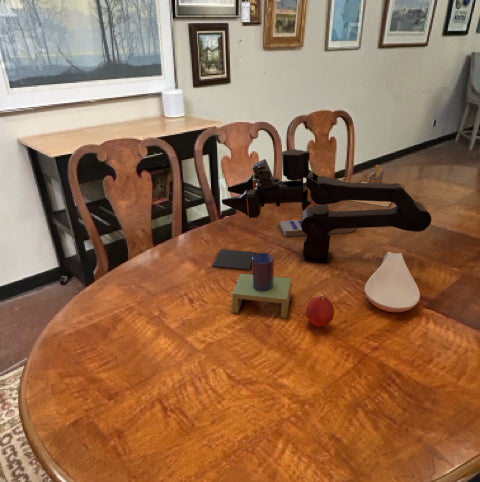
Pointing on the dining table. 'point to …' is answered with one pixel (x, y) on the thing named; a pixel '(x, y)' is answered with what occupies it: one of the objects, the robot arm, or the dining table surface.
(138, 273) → the dining table surface
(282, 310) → the shelf
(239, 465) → the dining table surface
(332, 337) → the dining table surface
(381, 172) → the architectural model on board
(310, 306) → the onion
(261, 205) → the robot arm
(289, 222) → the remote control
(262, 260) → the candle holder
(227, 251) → the mat
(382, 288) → the spoon rest
